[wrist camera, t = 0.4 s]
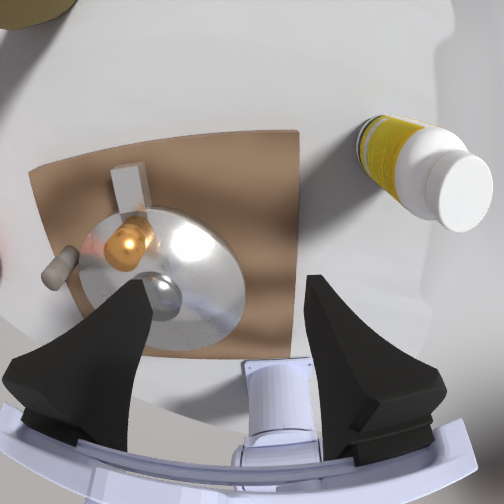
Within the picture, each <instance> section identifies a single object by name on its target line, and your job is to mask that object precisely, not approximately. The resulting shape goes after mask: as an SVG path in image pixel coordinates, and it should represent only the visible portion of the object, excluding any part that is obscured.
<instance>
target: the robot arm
mask: <svg viewBox="0 0 504 504" xmlns="http://www.w3.org/2000/svg"><path fill="white" fill-rule="evenodd" d="M152 317H153V310H152V307H151V305H150V302H149V299H148V296H147V293H146V290H145V287H144V284H143V281H142V279H130V280H129V281H127V282H126V283H125V284H124V285H123V286H121V287H120V288H119V289H118V290H117V291H116V292H115V293H114V294H112V295H111V296H110V297H109V298H108V299H107V300H106V301H105V302H104V303H102V304H101V305H100V306H99V307H98V308H97V309H96V310H94V311H93V312H92V313H91V314H90V315H88V316H87V317H86V318H85V319H84V320H82V321H81V322H80V323H79V324H77V325H76V326H74V327H73V328H72V329H70V330H69V331H67V332H66V333H64V334H63V335H61V336H59V337H58V338H56V339H55V340H53V341H51V342H50V343H48V344H46V345H44V346H42V347H40V348H38V349H36V350H34V351H32V352H29V353H27V354H25V355H22V356H19V357H17V358H14V359H12V361H11V363H10V364H9V366H8V368H7V370H6V372H5V374H4V375H3V378H2V382H3V384H4V385H5V387H6V388H7V390H8V391H9V392H10V393H11V394H12V395H13V396H14V397H15V398H16V399H17V400H18V401H19V402H20V403H21V404H22V405H23V406H24V407H26V408H25V410H24V412H22V411H21V410H20V409H18V408H16V407H14V406H12V405H10V404H8V403H6V402H4V404H3V407H2V409H1V411H0V451H2V452H3V453H4V454H6V455H7V456H9V457H11V458H12V459H14V460H15V461H17V462H18V463H20V464H21V465H23V466H25V467H26V468H28V469H30V470H31V471H33V472H35V473H36V474H38V475H40V476H42V477H44V478H46V479H48V480H50V481H52V482H54V483H56V484H57V485H59V486H62V487H64V488H66V489H68V490H70V491H72V492H75V493H77V494H79V495H82V496H84V497H86V498H85V503H84V504H405V503H408V502H411V501H413V500H416V499H418V498H421V497H423V496H425V495H428V494H430V493H433V492H435V491H437V490H440V489H441V488H444V487H446V486H448V485H450V484H452V483H454V482H456V481H458V480H460V479H462V478H464V477H466V476H467V475H469V474H471V473H473V472H475V471H476V470H477V469H478V466H477V463H476V459H475V456H474V452H473V449H472V446H471V443H470V440H469V437H468V434H467V431H466V428H465V426H464V423H463V420H462V419H461V418H459V419H457V420H454V421H452V422H450V423H447V424H445V425H442V426H440V427H438V428H436V429H434V430H432V429H431V427H430V424H432V422H433V419H432V416H431V413H432V412H433V411H434V410H435V409H436V407H438V406H439V404H440V403H441V402H442V401H443V399H444V398H445V396H446V394H447V389H446V387H445V384H444V382H443V379H442V377H441V375H440V373H439V372H438V370H437V369H436V368H434V367H431V366H429V365H427V364H425V363H423V362H421V361H419V360H417V359H415V358H413V357H411V356H410V355H408V354H406V353H404V352H403V351H401V350H399V349H398V348H396V347H395V346H393V345H392V344H390V343H389V342H388V341H386V340H385V339H383V338H382V337H381V336H379V335H378V334H377V333H376V332H374V331H373V330H372V329H371V328H370V327H368V326H367V325H366V324H365V323H364V322H363V321H362V320H361V319H360V318H359V317H358V316H357V315H356V314H355V313H354V312H353V311H352V310H351V309H350V308H349V307H348V306H347V305H346V304H345V302H344V301H343V300H342V299H341V298H340V297H339V296H338V294H337V293H336V292H335V291H334V290H333V288H332V287H331V286H330V285H329V283H328V282H327V281H326V280H325V278H324V277H323V276H322V275H307V280H306V291H305V302H304V319H305V327H306V333H307V337H308V341H309V345H310V350H311V354H312V358H299V359H282V360H256V361H246V362H245V363H244V367H245V375H246V383H247V391H248V399H249V437H245V438H244V445H239V446H238V448H237V449H236V450H235V451H234V453H233V455H232V460H231V466H217V465H203V464H192V463H184V462H176V461H169V460H162V459H157V458H151V457H146V456H141V455H136V454H132V453H127V430H128V417H129V407H130V399H131V393H132V388H133V382H134V378H135V374H136V370H137V367H138V364H139V361H140V358H141V355H142V352H143V350H144V347H145V344H146V341H147V338H148V335H149V332H150V327H151V323H152ZM313 364H314V366H315V370H316V375H317V380H318V389H319V398H320V408H321V421H322V437H319V438H318V442H317V433H316V430H315V428H314V420H313V412H312V405H311V397H310V390H309V382H310V378H311V373H312V368H313ZM318 445H319V446H318ZM118 468H119V469H118ZM120 469H123V470H126V471H131V472H135V473H139V474H143V475H148V476H153V477H159V478H164V479H170V480H176V481H184V482H191V483H201V484H212V485H227V486H234V489H235V490H223V489H213V488H206V487H201V486H194V485H187V484H181V483H174V482H168V481H162V480H157V479H151V478H147V477H142V476H138V475H134V474H130V473H126V472H125V471H123V470H120Z"/></svg>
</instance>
